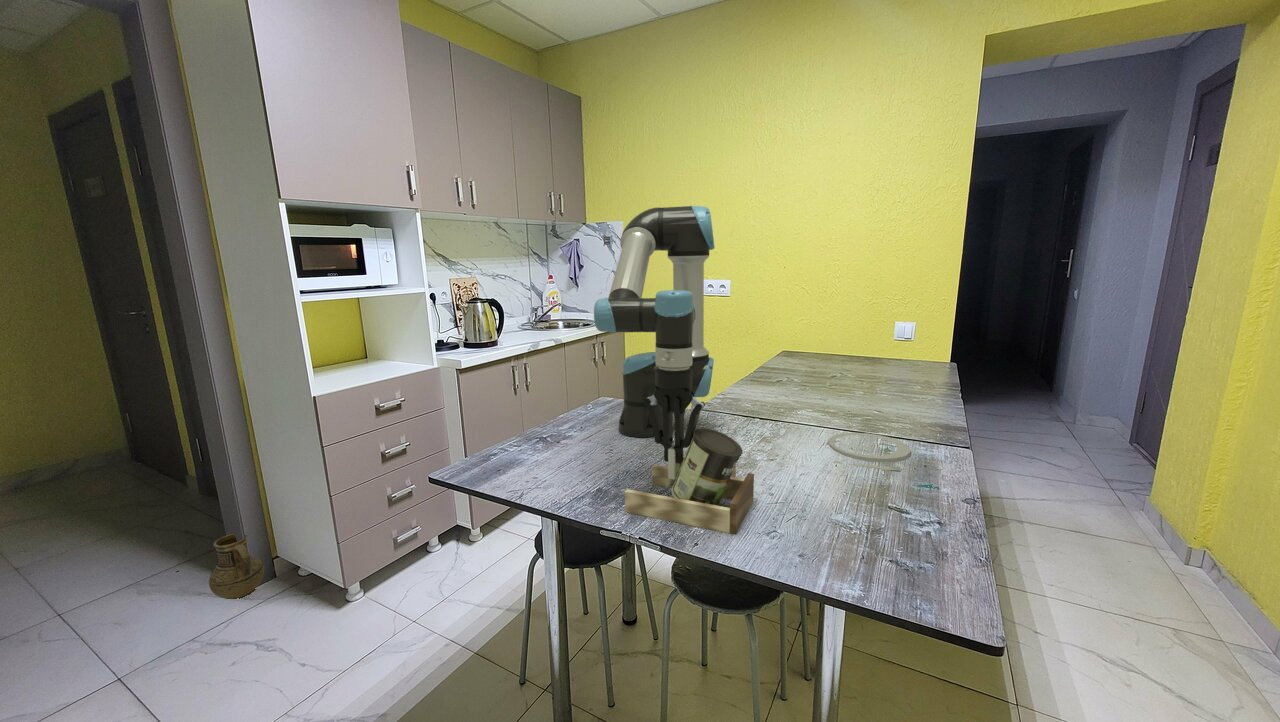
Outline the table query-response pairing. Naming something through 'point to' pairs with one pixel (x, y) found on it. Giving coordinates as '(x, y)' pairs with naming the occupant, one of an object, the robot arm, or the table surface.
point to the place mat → (898, 455)
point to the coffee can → (706, 467)
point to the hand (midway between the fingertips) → (673, 476)
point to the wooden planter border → (694, 503)
